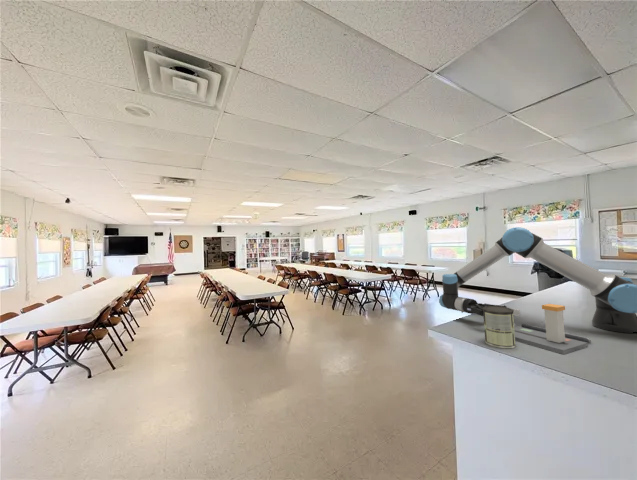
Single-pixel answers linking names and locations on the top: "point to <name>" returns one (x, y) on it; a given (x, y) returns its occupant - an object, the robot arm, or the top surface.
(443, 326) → the top surface
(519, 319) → the top surface
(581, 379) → the top surface
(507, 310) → the coffee can
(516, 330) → the switch panel
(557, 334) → the breaker handle
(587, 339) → the grey flat bar
